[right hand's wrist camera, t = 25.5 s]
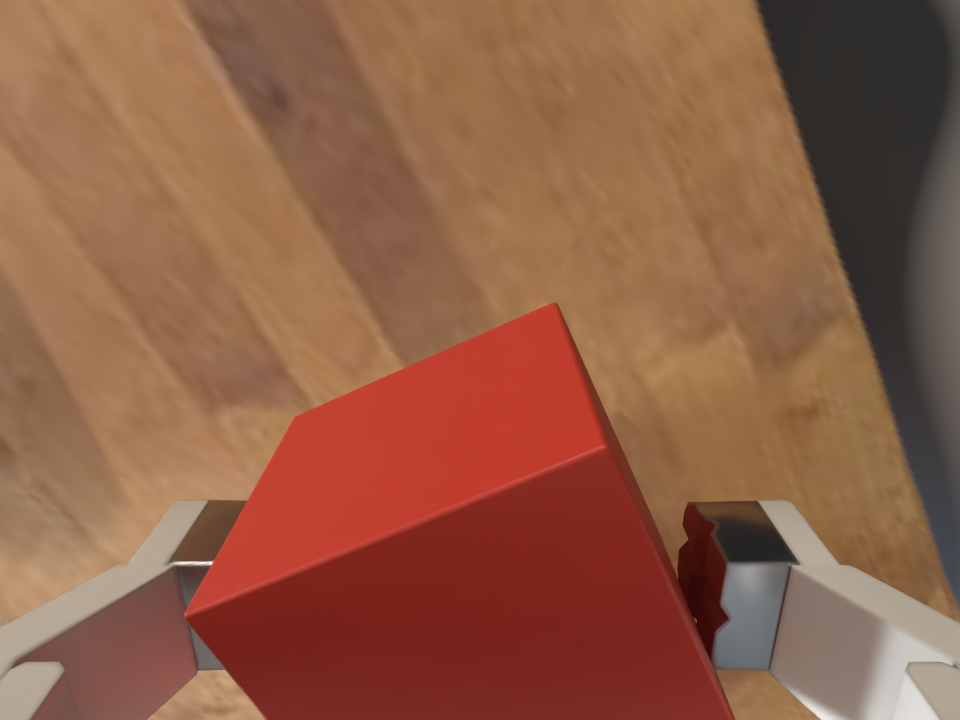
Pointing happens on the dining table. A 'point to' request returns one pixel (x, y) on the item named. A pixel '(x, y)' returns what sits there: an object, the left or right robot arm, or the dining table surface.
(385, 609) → the brick
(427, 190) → the dining table surface
